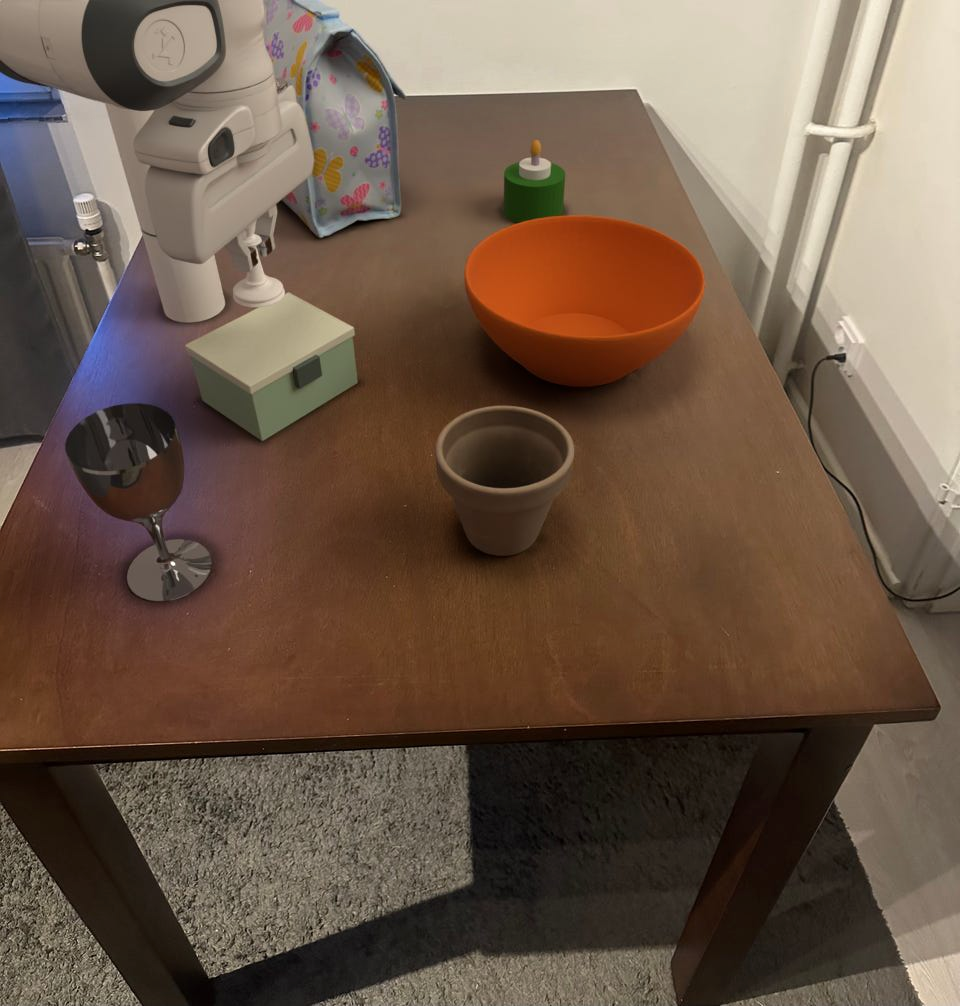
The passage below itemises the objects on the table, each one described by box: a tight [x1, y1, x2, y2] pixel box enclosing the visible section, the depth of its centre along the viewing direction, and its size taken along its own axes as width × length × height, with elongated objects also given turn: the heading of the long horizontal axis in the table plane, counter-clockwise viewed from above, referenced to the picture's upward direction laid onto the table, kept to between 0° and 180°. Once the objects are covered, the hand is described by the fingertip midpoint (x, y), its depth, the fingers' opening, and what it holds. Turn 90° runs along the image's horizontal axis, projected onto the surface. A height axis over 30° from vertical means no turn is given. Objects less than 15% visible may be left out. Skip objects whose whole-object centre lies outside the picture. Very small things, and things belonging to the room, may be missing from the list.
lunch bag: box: [263, 0, 407, 239], centre depth 118 cm, size 22×17×26 cm
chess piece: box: [232, 220, 286, 308], centre depth 83 cm, size 5×5×10 cm
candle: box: [503, 139, 566, 224], centre depth 121 cm, size 8×8×10 cm
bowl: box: [463, 214, 706, 388], centre depth 97 cm, size 25×25×10 cm
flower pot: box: [434, 405, 576, 557], centre depth 77 cm, size 12×11×10 cm
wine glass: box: [64, 402, 213, 603], centre depth 71 cm, size 8×8×15 cm
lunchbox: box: [184, 292, 359, 442], centre depth 92 cm, size 13×11×7 cm
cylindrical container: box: [104, 103, 226, 324], centre depth 98 cm, size 7×7×25 cm
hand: (255, 260), depth 84 cm, fingers closed on chess piece
